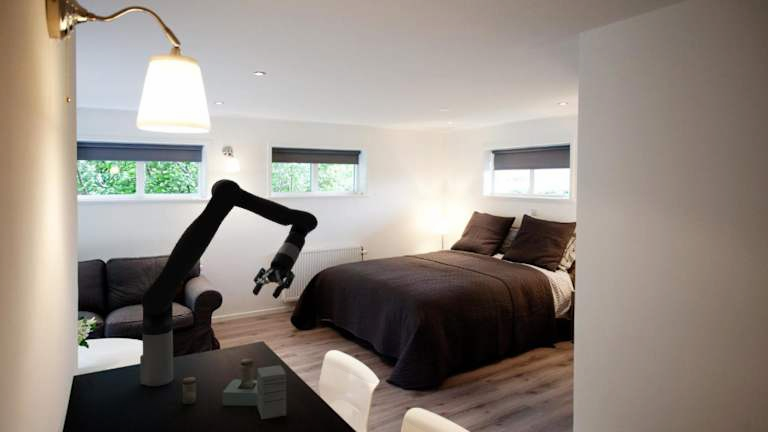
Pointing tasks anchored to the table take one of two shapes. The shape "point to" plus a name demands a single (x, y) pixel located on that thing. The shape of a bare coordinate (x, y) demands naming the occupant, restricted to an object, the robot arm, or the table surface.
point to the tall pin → (247, 374)
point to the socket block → (240, 394)
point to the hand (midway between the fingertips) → (264, 295)
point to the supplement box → (271, 391)
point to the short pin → (189, 390)
